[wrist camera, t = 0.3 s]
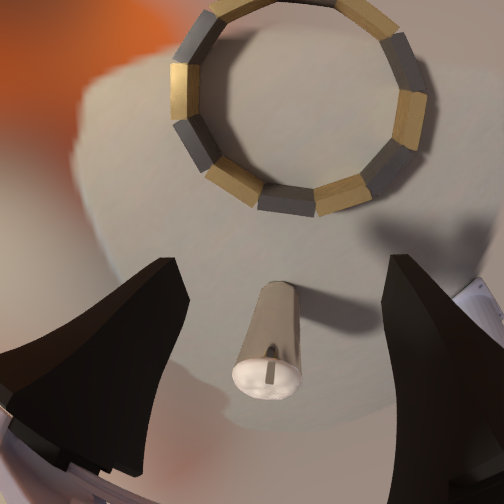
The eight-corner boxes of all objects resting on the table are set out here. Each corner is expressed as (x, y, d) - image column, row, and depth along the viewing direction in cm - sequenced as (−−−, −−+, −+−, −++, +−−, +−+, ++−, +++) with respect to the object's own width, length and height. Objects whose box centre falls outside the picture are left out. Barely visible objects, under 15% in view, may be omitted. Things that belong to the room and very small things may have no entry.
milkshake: (314, 271, 21) (312, 389, 13) (300, 317, 24) (291, 421, 16) (256, 261, 22) (226, 376, 14) (250, 308, 25) (225, 410, 17)
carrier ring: (450, 92, 12) (465, 96, 10) (318, 237, 19) (319, 254, 18) (263, -43, 9) (258, -56, 7) (150, 127, 17) (134, 134, 15)
